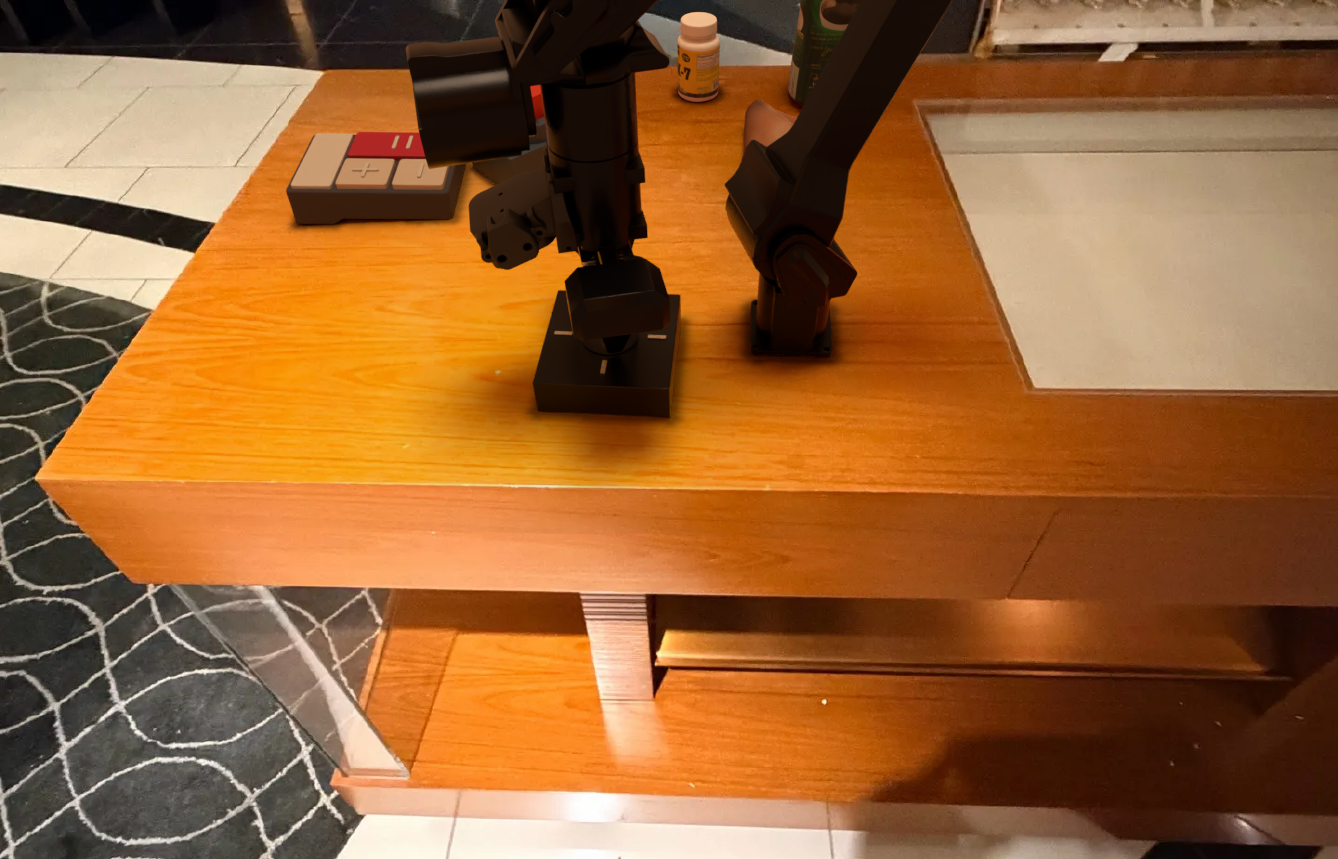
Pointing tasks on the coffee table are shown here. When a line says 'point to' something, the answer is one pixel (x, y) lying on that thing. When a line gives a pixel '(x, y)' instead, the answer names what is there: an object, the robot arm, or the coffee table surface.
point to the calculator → (371, 179)
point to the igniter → (516, 159)
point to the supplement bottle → (698, 57)
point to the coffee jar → (816, 42)
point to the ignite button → (537, 101)
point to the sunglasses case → (765, 123)
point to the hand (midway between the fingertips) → (609, 330)
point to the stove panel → (607, 370)
